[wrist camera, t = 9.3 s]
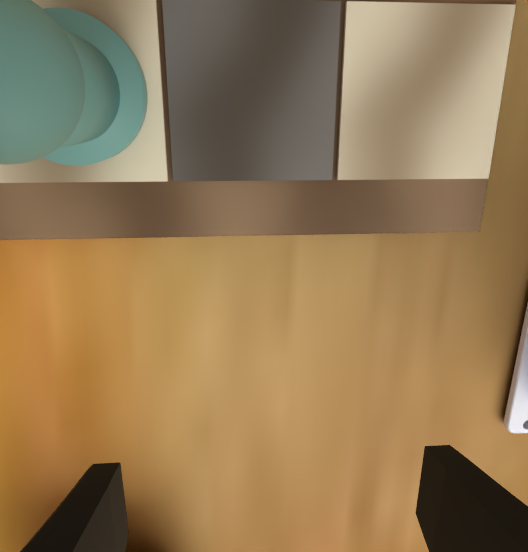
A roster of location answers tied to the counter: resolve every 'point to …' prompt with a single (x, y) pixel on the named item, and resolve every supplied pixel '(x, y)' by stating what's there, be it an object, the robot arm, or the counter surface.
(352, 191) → the board
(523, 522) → the robot arm
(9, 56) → the pawn
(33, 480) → the counter surface
